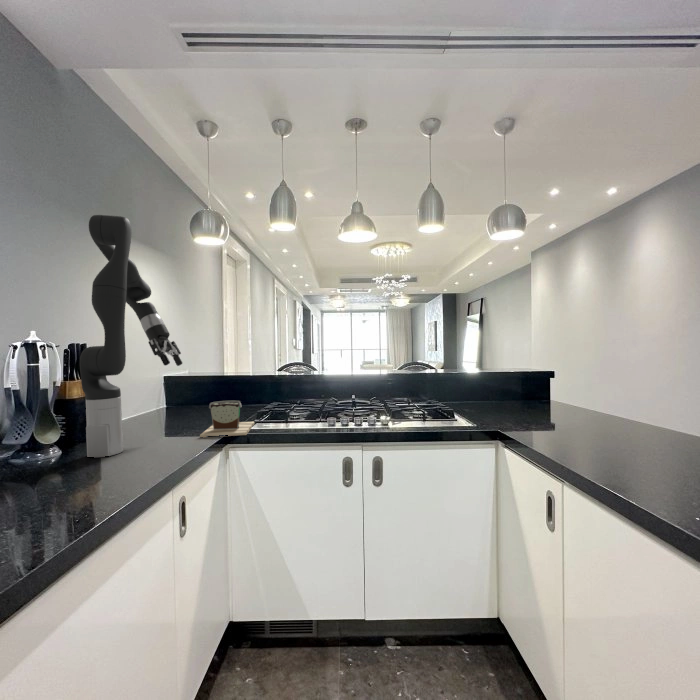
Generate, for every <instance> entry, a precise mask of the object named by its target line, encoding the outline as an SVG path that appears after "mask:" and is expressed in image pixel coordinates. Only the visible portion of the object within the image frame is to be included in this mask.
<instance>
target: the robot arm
mask: <svg viewBox="0 0 700 700" xmlns="http://www.w3.org/2000/svg"><path fill="white" fill-rule="evenodd" d="M88 231H89V232H88V233H89V234H90V237H91V239H92V240H93V243H95V246H96V247H97V248H98V249H99V251H100V252H101V253H102V255H103V257H105V259H106V260H107V261H108V262H107V263H106V264H105V266H103V267H102V269H101V270H100V271H99V272H98V274H96V275H95V278H94V279H93V282H92V287H91V288H92V289H91V305H92V308H93V310H94V312H95V314H96V315H97V318H98V319H99V321H100V322H101V325H102V327H103V330H104V344H103V345H93V346H92V345H91V346H88V347H86V348H84V349H83V350H82V352H81V354H80V356H79V371H80V381H81V388H82V391H83V393H84V395H85V408H86V409H85V416H86V417H85V418H86V419H85V421H86V427H85V433H86V434H85V437H86V456H87V457H94V458H106V457H105V456H109V457H110V456H114V455H118V454H120V453H122V452H124V435H123V419H122V417H123V416H122V397H121V395H122V393H121V388H120V387H119V386H117V385H115V384H112V383H110V381H108V379H107V377H108V376H118V375H119V374H121V373H122V372H123V371H124V369H125V366H126V357H127V355H126V353H127V351H126V335H125V334H126V333H125V332H126V331H125V324H126V323H125V322H126V321H125V319H126V304H127V305H128V306H129V307H130V308H131V309H132V310H133V311H134V312H135V315H136V316H137V318H138V320H139V323H140V326H141V328H142V330H143V331H144V333H145V336H146V337H147V339H148V344H149V347H150V349H151V351H152V353H153V355H154V356H157V357H158V358H160V360H161V362H162V364H163V366H168V365H170V363H171V361H170V359H169V357H168V355H170V356H171V357H172V359H173V362H174V363H175V365H176V366H177V367H180V366H181V365H183V361H182V359H181V358H180V355H181V354H182V353H181V351H180V348H179V347H178V345H177V344H176V341H174V340H172V341H171V340H170V339H169V337H170V335H171V334H170V332H169V330H168V329H167V327H166V324H165V323H164V321H163V319H162V317H161V316H160V314H159V312H158V311H157V309H156V307H155V305H154V304H153V303H152V302H150V301H147V302H145V301H144V300H146V299H149V298H150V297H151V295H152V290H151V287H150V286H149V284H148V283H147V282H146V281H145V280H144V279H143V278H142V277H141V274H140V272H139V270H138V267H137V266H136V264H135V262H134V261H133V260H132V259H131V258H130V257H129V256H130V252H131V251H130V250H131V249H130V248H131V243H132V235H133V234H132V233H133V232H132V225H131V221H130V220H129V218H127V217H125V216H120V215H119V216H118V215H108V214H107V215H106V214H104V215H103V214H94V215H92V216H90V219H89V220H88ZM140 301H144V302H140Z"/></svg>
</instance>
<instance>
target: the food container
mask: <svg viewBox="0 0 700 700" xmlns="http://www.w3.org/2000/svg"><path fill="white" fill-rule="evenodd" d="M241 408H242V403H241V400H234V399H233V400H219V401H213V402H210V403H209V406H208V409H210V413H211V414H210V415H211V420H212V425H213V429H214V430H215V429H239V422H240V413H241Z"/></svg>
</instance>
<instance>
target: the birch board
mask: <svg viewBox="0 0 700 700" xmlns="http://www.w3.org/2000/svg"><path fill="white" fill-rule="evenodd" d="M254 425H255V421H239V429H215V430H214V429H213V424H211V425H210V426H209V427H208V428H207V429H206V430H204V431H203V432H202V433H200V434H199V438H200V437H203V438H207V437H206V436H219V435H228V436H227V437H231V436H233V437H235V436H236V437H237V436H247V435H248V433H250V431H251V429H252V428H253V427H254ZM252 426H253V427H252Z"/></svg>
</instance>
